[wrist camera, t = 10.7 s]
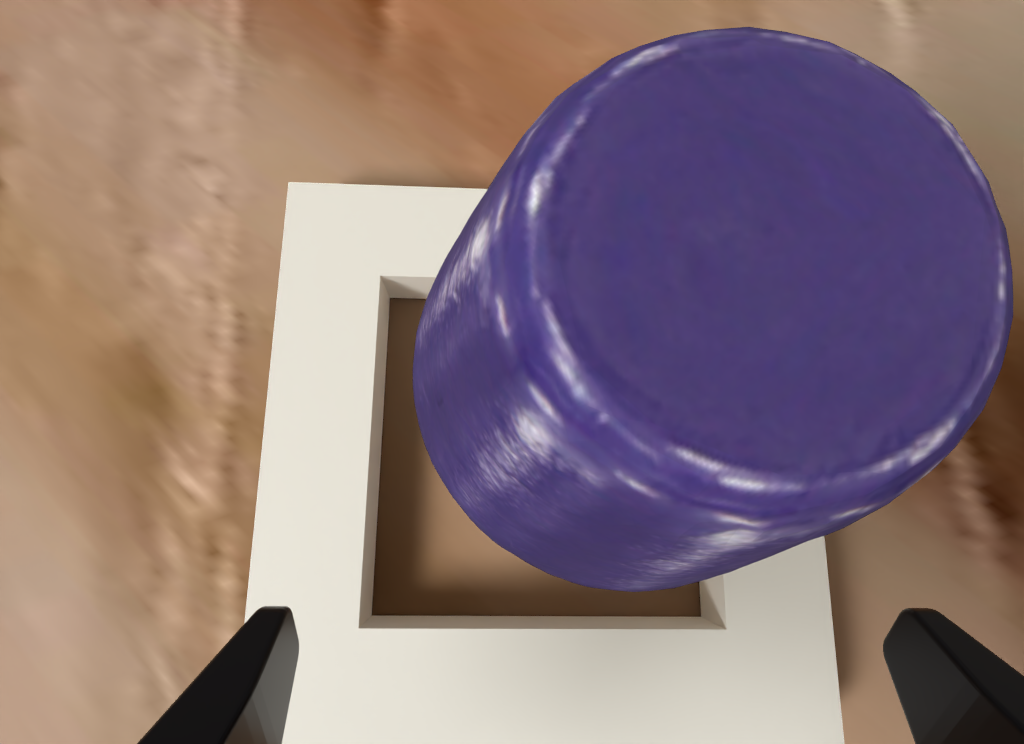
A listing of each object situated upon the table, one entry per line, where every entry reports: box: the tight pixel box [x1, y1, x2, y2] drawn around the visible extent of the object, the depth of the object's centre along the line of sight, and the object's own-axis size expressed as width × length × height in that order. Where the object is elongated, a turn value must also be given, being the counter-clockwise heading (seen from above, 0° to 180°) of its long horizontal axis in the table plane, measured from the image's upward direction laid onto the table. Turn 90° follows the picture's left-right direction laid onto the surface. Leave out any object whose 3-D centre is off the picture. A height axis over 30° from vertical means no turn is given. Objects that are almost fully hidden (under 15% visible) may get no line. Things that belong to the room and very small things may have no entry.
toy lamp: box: [413, 27, 1013, 592], centre depth 11 cm, size 5×5×17 cm
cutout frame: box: [244, 182, 844, 744], centre depth 19 cm, size 16×16×2 cm
